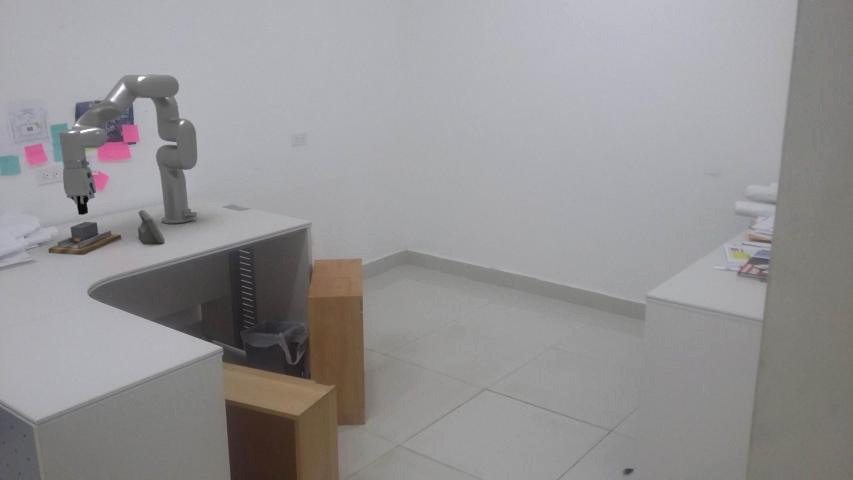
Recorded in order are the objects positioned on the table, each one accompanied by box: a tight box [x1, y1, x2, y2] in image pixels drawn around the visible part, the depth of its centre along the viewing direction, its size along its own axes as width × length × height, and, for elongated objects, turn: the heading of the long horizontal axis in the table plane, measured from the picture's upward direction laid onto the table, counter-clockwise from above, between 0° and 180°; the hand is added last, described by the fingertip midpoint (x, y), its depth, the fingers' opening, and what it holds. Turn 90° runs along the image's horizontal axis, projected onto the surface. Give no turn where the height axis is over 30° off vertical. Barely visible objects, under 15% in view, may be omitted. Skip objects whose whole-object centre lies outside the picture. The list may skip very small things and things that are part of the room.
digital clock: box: [137, 209, 165, 245], centre depth 276 cm, size 16×9×11 cm, turn 21°
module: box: [70, 221, 99, 243], centre depth 269 cm, size 5×9×6 cm, turn 168°
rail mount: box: [48, 230, 122, 256], centre depth 270 cm, size 14×22×3 cm, turn 168°
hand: (83, 213), depth 268 cm, fingers closed
